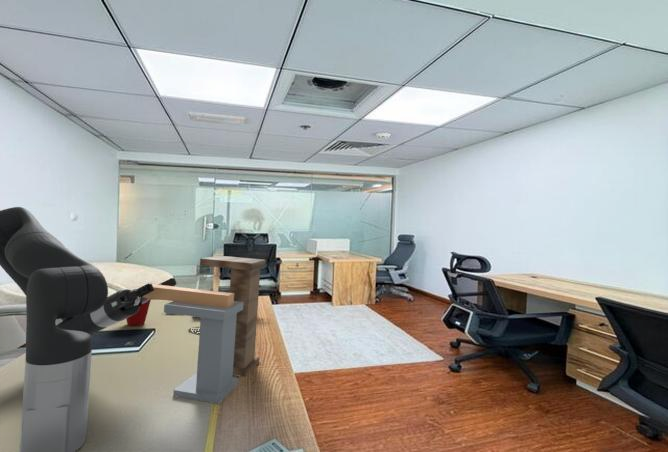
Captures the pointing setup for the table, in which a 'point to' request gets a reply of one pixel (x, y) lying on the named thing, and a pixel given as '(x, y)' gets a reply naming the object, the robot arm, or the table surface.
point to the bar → (191, 296)
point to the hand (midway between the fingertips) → (163, 283)
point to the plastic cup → (139, 315)
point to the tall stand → (246, 291)
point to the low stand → (210, 351)
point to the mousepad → (194, 330)
